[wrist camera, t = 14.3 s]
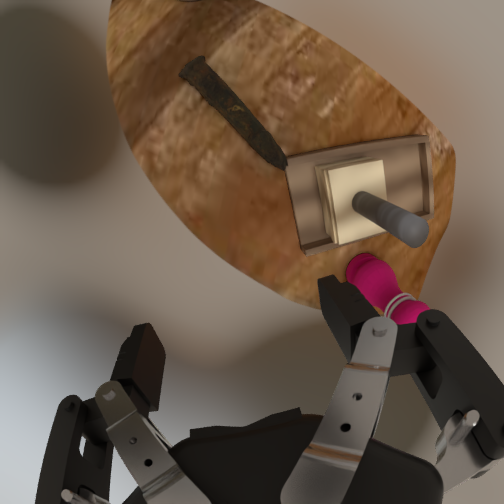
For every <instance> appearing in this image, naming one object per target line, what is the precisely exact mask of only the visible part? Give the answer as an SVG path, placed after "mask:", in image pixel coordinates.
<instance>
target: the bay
mask: <svg viewBox="0 0 504 504" xmlns="http://www.w3.org/2000/svg"><path fill="white" fill-rule="evenodd" d="M363 156H366V157H371V158H376V159H381V160H383V168H384V176H385V185H386V195H387V201H388V202H390V203H392V204H394V205H396V206H399V207H401V208H403V209H405V210H407V211H409V212H411V213H413V214H415V215H417V216H419V217H421V218H423V219H425V220H429V219H433V218H434V193H433V174H432V161H431V151H430V142H429V136H426V135H410V136H401V137H393V138H386V139H379V140H372V141H365V142H359V143H353V144H347V145H341V146H336V147H330V148H325V149H320V150H315V151H310V152H305V153H300V154H296V155H291V156H286V160H287V166H286V169H285V174H286V179H287V183H288V188H289V193H290V197H291V202H292V207H293V212H294V217H295V222H296V227H297V232H298V237H299V242H300V247H301V250H302V251H303V252H304V254H305V255H306V257H307V256H310V255H314V254H317V253H321V252H324V251H328V250H331V249H334V248H338V247H341V246H345V245H348V244H351V243H355V242H358V241H361V240H365V239H368V238H371V237H375V236H378V235H381V234H384V233H388V232H387V231H384V232H381V233H378V234H374V235H371V236H368V237H364V238H361V239H358V240H354V241H351V242H347V243H344V244H341V245H339V244H338V243H336V244H335V243H334V242H333V241H332V238H331V236H329V235H328V234H327V233H326V228H325V221H324V215H323V209H322V203H321V197H320V192H319V186H318V181H317V176H316V170H315V166H318V165H322V164H327V163H332V162H337V161H342V160H347V159H352V158H358V157H363Z"/></svg>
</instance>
